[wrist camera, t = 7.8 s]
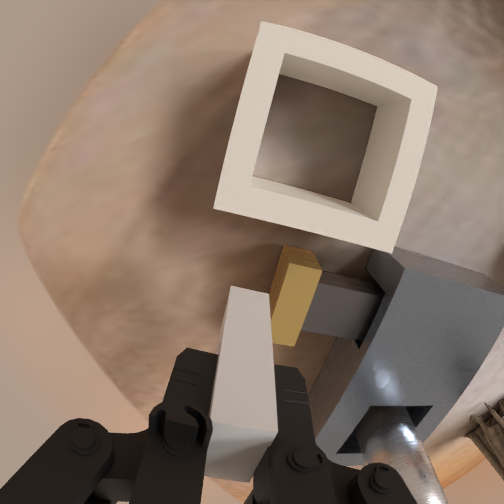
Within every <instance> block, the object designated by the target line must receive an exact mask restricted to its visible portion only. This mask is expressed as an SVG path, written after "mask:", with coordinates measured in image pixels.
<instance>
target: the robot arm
mask: <svg viewBox="0 0 504 504" xmlns="http://www.w3.org/2000/svg"><path fill="white" fill-rule="evenodd" d="M308 403H309V400H308V394H307V388H306V383H305V379H304V378H303V376H302V375H301V373H300V372H299V370H298V369H297V368H293V367H287V366H280V365H274V360H273V345H272V331H271V317H270V303H269V294H267V293H263V292H258V291H253V290H249V289H244V288H240V287H235V286H231V287H230V292H229V296H228V300H227V304H226V308H225V313H224V317H223V321H222V325H221V330H220V334H219V338H218V343H217V349H216V354H213V353H208V352H204V351H199V350H195V349H191V348H186V349H185V350H184V351H183V352H182V353H180V354H179V355H178V356H177V358H176V361H175V365H174V368H173V371H172V374H171V377H170V381H169V383H168V386H167V389H166V393H165V396H164V399H163V402H162V403H160V404H158V405H157V406H155V407H154V408H153V410H152V411H151V413H150V414H149V428H148V429H146V430H144V431H141V432H138V433H129V434H126V433H109V432H108V430H106V429H105V428H104V427H103V426H102V425H101V424H99V423H97V422H95V421H93V420H90V419H82V418H77V419H73V420H69V421H67V422H66V423H64V424H63V425H61V426H60V427H59V428H58V429H57V430H56V431H55V432H54V434H52V436H51V437H50V438H49V439H48V440H47V441H46V442H45V443H44V444H43V445H42V446H41V447H40V448H39V449H38V450H37V451H36V452H35V453H34V454H33V455H32V456H31V457H30V458H29V459H28V460H27V462H26V463H25V464H24V465H23V466H22V467H21V468H20V469H19V470H18V471H17V472H16V473H15V474H14V475H13V476H12V477H11V478H10V480H8V482H7V483H6V484H5V485H4V486H3V487H2V488H1V489H0V504H116V503H117V501H125V502H129V504H200V502H201V494H202V487H203V479H204V476H208V477H214V478H220V479H226V480H234V481H241V482H250V480H251V479H252V477H253V475H254V478H253V490H252V492H251V493H250V495H249V496H248V497H247V499H246V500H245V502H244V504H417V502H416V500H415V499H414V497H413V495H412V494H411V492H410V490H409V489H408V487H407V485H406V484H405V482H404V480H403V479H402V477H401V475H400V474H399V473H398V472H397V471H396V469H394V468H393V467H391V466H389V465H388V464H384V463H380V462H377V463H370V464H368V465H366V466H364V467H363V468H362V469H361V470H357V469H353V468H350V467H346V466H343V465H339V464H337V463H334V462H332V461H330V460H329V459H327V457H326V454H325V453H324V452H323V451H322V450H321V449H320V448H319V447H318V446H317V445H316V441H315V436H314V430H313V424H312V418H311V412H310V406H309V405H308Z"/></svg>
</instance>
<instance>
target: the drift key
mask: <svg viewBox="0 0 504 504" xmlns="http://www.w3.org/2000/svg"><path fill="white" fill-rule="evenodd" d="M384 295H385V291H384V290H383V289H382V288H381V286H380V285H379V284H378V283H374V282H369V281H365V280H360V279H356V278H352V277H347V276H343V275H338V274H334V273H330V272H325V271H322V269H321V267H320V265H319V263H318V261H317V259H316V257H315V255H314V254H313V252H312V251H309V250H304V249H300V248H296V247H292V246H288V245H283V249H282V252H281V256H280V259H279V262H278V266H277V269H276V272H275V276H274V279H273V282H272V286H271V289H270V292H269V303H270V317H271V331H272V343H276V344H281V345H287V346H293V347H294V346H295V343H296V341H297V338H298V336H299V333H300V331H306V332H312V333H318V334H324V335H330V336H336V337H342V338H349V339H356V340H362V341H364V339H365V337H366V335H367V333H368V331H369V329H370V326H371V324H372V322H373V320H374V318H375V316H376V314H377V311H378V309H379V307H380V305H381V302H382V300H383V298H384Z"/></svg>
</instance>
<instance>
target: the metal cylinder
mask: <svg viewBox="0 0 504 504" xmlns="http://www.w3.org/2000/svg"><path fill="white" fill-rule="evenodd" d="M354 430H355V433H356V436H357V440H358V443H359V446H360V450H361V453H362V456H363V460H364V463H365V466H366V465H368V464H370V463H377V462H380V463H384V464H388V465H389V466H391V467H393V468H394V469H396V471H397V472H398V473H399V474H400V475H401V477H402V479H403V480H404V482H405V484H406V485H407V487H408V489H409V490H410V492H411V494H412V495H413V497H414V499H415V500H416V502H417V504H448V502H447V499H446V497H445V494H444V492H443V489H442V487H441V485H440V482H439V480H438V477H437V475H436V473H435V470H434V468H433V466H432V464H431V461H430V459H429V457H428V455H427V452H426V450H425V448H424V446H423V444H422V441H421V439H420V437H419V435H418V433H417V431H416V428H415V426H414V424H413V422H412V420H411V418H410V416H409V414H408V412H407V410H406V407H405V406H372V405H371V406H370V407H369V409H368V410H367V412H366V413H365V415H364V416H363V418H362V419H361V420H360V422H359V423H358V425H357V426H356V427H355V429H354Z"/></svg>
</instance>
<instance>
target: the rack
mask: <svg viewBox="0 0 504 504" xmlns="http://www.w3.org/2000/svg"><path fill="white" fill-rule="evenodd" d="M279 74H280V75H284V76H288V77H291V78H295V79H298V80H302V81H305V82H309V83H312V84H315V85H318V86H322V87H325V88H328V89H331V90H334V91H337V92H340V93H343V94H345V95H348V96H351V97H354V98H356V99H359V100H362V101H364V102H367V103H370V104H372V105H375V106H377V109H376V113H375V117H374V121H373V125H372V129H371V133H370V137H369V141H368V144H367V148H366V152H365V156H364V159H363V163H362V166H361V170H360V173H359V177H358V180H357V184H356V187H355V190H354V194H353V197H352V200H351V203H349V202H346V201H343V200H339V199H336V198H332V197H329V196H325V195H322V194H318V193H315V192H311V191H308V190H304V189H300V188H297V187H293V186H289V185H285V184H281V183H278V182H274V181H270V180H266V179H262V178H258V177H254V176H253V172H254V168H255V164H256V160H257V156H258V152H259V148H260V144H261V140H262V136H263V133H264V129H265V125H266V121H267V117H268V113H269V110H270V106H271V102H272V98H273V94H274V91H275V87H276V83H277V79H278V76H279ZM437 90H438V87H437V86H436V85H434V84H432V83H430V82H428V81H426V80H424V79H423V78H421V77H419V76H417V75H415V74H413V73H411V72H409V71H406V70H404V69H402V68H400V67H398V66H396V65H394V64H391V63H389V62H387V61H385V60H382V59H380V58H378V57H375V56H373V55H370V54H368V53H366V52H363V51H360V50H358V49H355V48H353V47H350V46H347V45H344V44H342V43H339V42H336V41H333V40H330V39H327V38H324V37H321V36H317V35H314V34H311V33H307V32H304V31H300V30H297V29H293V28H289V27H285V26H281V25H277V24H273V23H269V22H264V21H262V22H261V25H260V28H259V32H258V35H257V39H256V42H255V45H254V49H253V52H252V56H251V59H250V63H249V66H248V70H247V74H246V77H245V81H244V85H243V88H242V92H241V96H240V100H239V103H238V107H237V111H236V115H235V119H234V123H233V127H232V131H231V135H230V139H229V143H228V147H227V151H226V155H225V159H224V163H223V168H222V172H221V176H220V181H219V185H218V189H217V194H216V198H215V203H214V207H213V209H217V210H222V211H226V212H230V213H235V214H239V215H243V216H247V217H251V218H256V219H260V220H264V221H268V222H272V223H276V224H280V225H284V226H288V227H292V228H296V229H300V230H304V231H308V232H312V233H316V234H320V235H324V236H328V237H332V238H336V239H339V240H343V241H347V242H351V243H355V244H358V245H362V246H366V247H369V248H373V249H377V250H380V251H384V252H388V253H391V254H392V252H393V249H394V246H395V243H396V241H397V238H398V235H399V232H400V229H401V226H402V224H403V221H404V218H405V215H406V211H407V208H408V205H409V202H410V199H411V196H412V192H413V189H414V186H415V182H416V179H417V175H418V172H419V168H420V165H421V161H422V157H423V153H424V149H425V146H426V141H427V137H428V133H429V129H430V124H431V120H432V115H433V110H434V106H435V100H436V95H437Z"/></svg>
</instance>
